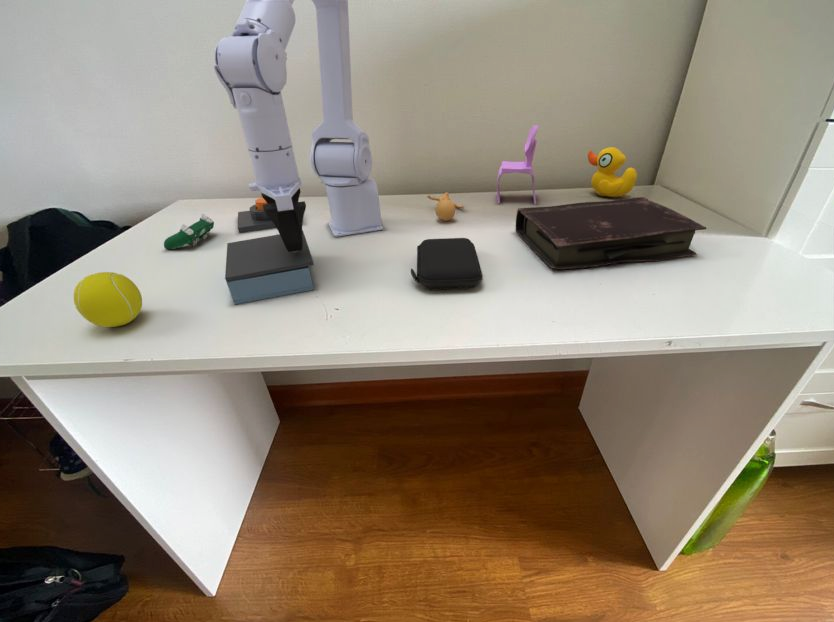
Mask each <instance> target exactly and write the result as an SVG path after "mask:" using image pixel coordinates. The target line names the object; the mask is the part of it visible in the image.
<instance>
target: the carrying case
mask: <svg viewBox="0 0 834 622" xmlns="http://www.w3.org/2000/svg"><path fill="white" fill-rule="evenodd" d="M410 275H411V277H412V279H413V280H414V282H416V283H417V284H420V285H421V286H422V287H423V288H424V289H426V290H431V291H432V290H433V291H436V290H461V289H473V288H476V287H478V285H480V284H481V282H482V281H483V277H484V276H483V271H482V268H481V264H480V262H479V257H478V253H477V249H476V247H475V244H474V242H472V241H471V239H469V238H467V237H451V238H449V237H446V238H427V239H424V240H422V242H421V243H420V244H418V245H417V247H416V272H415V270H414V268H411V269H410Z"/></svg>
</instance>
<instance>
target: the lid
mask: <svg viewBox="0 0 834 622" xmlns="http://www.w3.org/2000/svg"><path fill="white" fill-rule="evenodd" d="M302 236H303V248H302V250H298V251H292V252H288V250H287V249H286V247H285V245H284V243H283V240H282V238H281V236H280V234H279V233H278V234H273V235H267V236H262V237H256V238H251V239H249V238H248V239H244V240H237V241H232V242H227V243H226V257H225V272H224V273H225V274H224V280H225V282H226V283H227V281H233V280H238V279H243V278H248V277H253V276H259V275H264V274H269V273H274V272H279V271H285V270H290V269H295V268H300V267H306V266H308V267H310V266H311V267H312V266H314V265H315V263H314V260H313V257H312V253H311V250H310V247H309V245H308V241H307V239H306V238H307V237H306V235H305V232H304V230H303V229H302Z"/></svg>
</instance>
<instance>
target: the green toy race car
mask: <svg viewBox="0 0 834 622" xmlns="http://www.w3.org/2000/svg"><path fill="white" fill-rule="evenodd" d="M214 225H215V222H214V221H213V219H212V218H210V216H208V215H206V214H204V213H201V216H200V217H199V220H198V221H196V222H194V223H192V224H191V225H189V226H188V225H186V224H184V223H183V224H181V228H180V229H179V231H178V232H176V233H173V235H170V236H168V237H167V238H166V239H164V241H163V248H164V249H166V250H176V249H179V248H183V247H185V246H187V245H189V246H193V247H194V246H196V245H197V244H198V240H197V239H200V240H206V239H207V238H208V233H209V232H211V231H212V230H213V229H214Z"/></svg>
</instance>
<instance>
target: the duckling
mask: <svg viewBox="0 0 834 622" xmlns="http://www.w3.org/2000/svg"><path fill="white" fill-rule="evenodd" d="M597 154H598V155H597ZM597 154H595V153H594V152H593V150H589V151H588V153H587V161H588V162H589V164H590V165H592V166H593V167H594V166H595V167H597V169H598V170H597V171H596V172H595V173H594V174H593V175H592V177H591V187H592V189H593V190H594V191H595V193H596V194H597V195H599V196H601V197H607V198H617V197H623V196H625V195H627V194H629V193H630V192H631V191H632V190H633V188H634V187H635V184H636V181H637V178H638V174H637V171H636V169H635V168H634V167H628V168H627V169H626V170H625V171H624V173H623V174H622V176H617V175H616V174H615V172H617V171H618V170H619V169H621V168H620V167H622V166H623V165H624V164H625V162H626V160H627V157H626V155H625V154H624V153H622V151H621V150H620V149H619V148H617V147H614V146H610V147H606V148H603V149H602V150H600V151H599V153H597Z"/></svg>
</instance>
